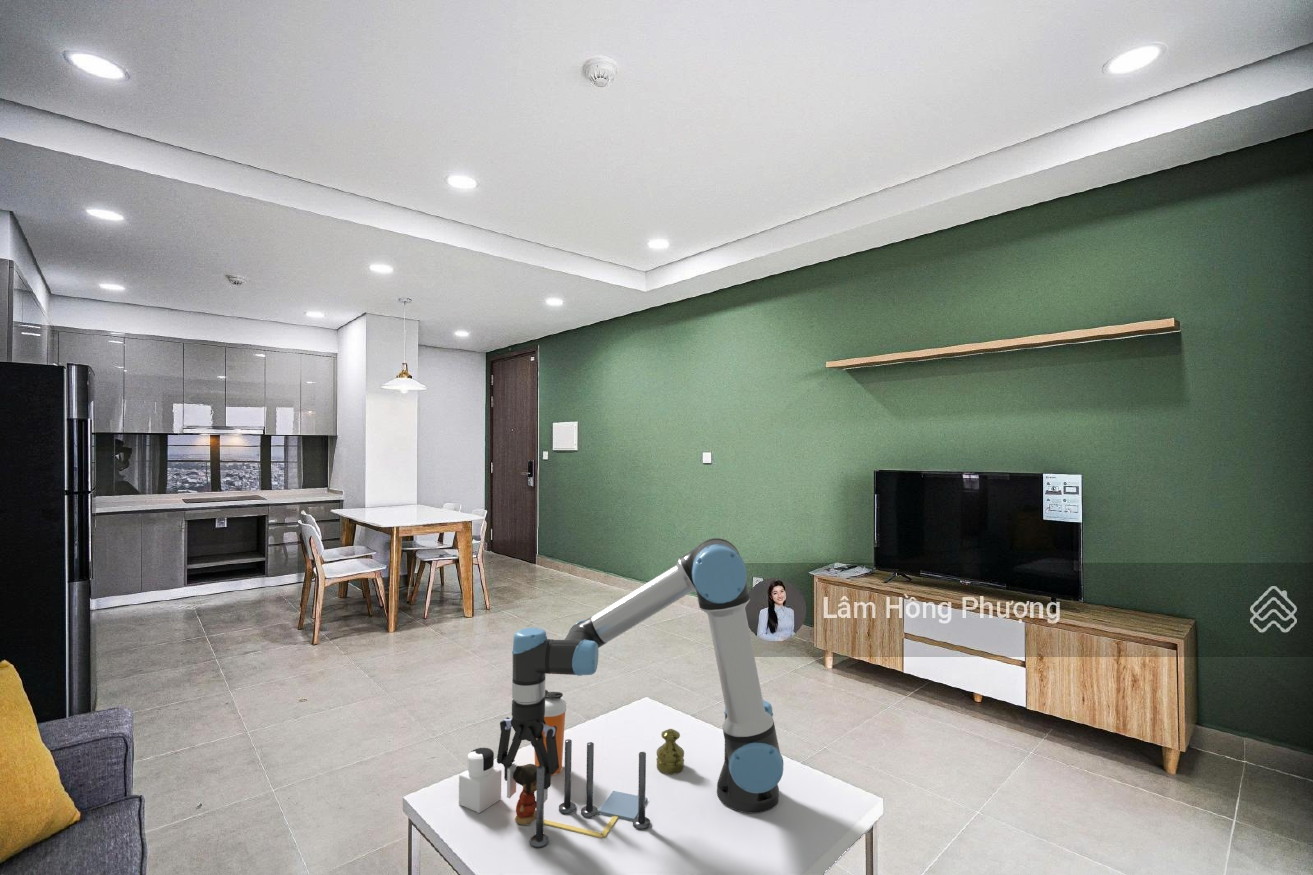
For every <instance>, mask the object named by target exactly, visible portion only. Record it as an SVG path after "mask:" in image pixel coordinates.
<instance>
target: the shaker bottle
mask: <svg viewBox="0 0 1313 875" xmlns="http://www.w3.org/2000/svg"><path fill="white" fill-rule="evenodd" d="M563 696H564V694H563V693H562V692H561V691H548V690H547V689H546V688H545V696H544V698H545V715H544V720H545V722H546V725H548V726H551V727H553V726H556V727H557V732H556V744H557V752H558V761H559V769H558V770H557V771H556V772H555V773H554V774H553V775H552V774H551V776H554V775H557V774H559V773H560V772H561V771H562V769H563V758H564V757H563V756H564V755H563V754H564V743H565V725H566V724H565V723H566V711H567V701H566V700H565V698H564V697H563ZM542 734H543V737H544V740H543V741H544V745H545V748H546V751H547V747H546V737H545V732H544V731H543V732H542ZM536 740H537V739H536ZM533 749H534V748H533ZM533 752H534V765H536V766H537V767H538V766H540V765H539V762H538V759H537V756H536V753H535V749H534V750H533Z"/></svg>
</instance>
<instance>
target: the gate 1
mask: <svg viewBox="0 0 1313 875" xmlns="http://www.w3.org/2000/svg"><path fill="white" fill-rule="evenodd" d="M572 742H573V740H572V739H570V738H568V739H567V738H566V739H564V768H563V769H564V771H563V772H564V774H563V775H564V776H563V777H564V779H563V787H564V788H563V802H562V803H560V804H559V805H558V812H559V813H560V814H563V815H570V814H573V813H574V812H576V810H577V804H575V803H574V802H573V801H572V751H573V750H572V749H573V748H572V746H573V744H572ZM535 792H536V794H535V801H536V809H535V810H536V819H535V834H534V835H533V836H531V837H530V839H529V845H530V846H531V848H534V849H542V848H545V847H547V846H548V845H549V842H550V838H549V835H547V834H545V833H544V820H545V819H544V818H545V816H544V811H545V809H544V808H545V805H544V804H545V802H544V766H538V767H537V790H536V791H535Z"/></svg>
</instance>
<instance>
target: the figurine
mask: <svg viewBox="0 0 1313 875" xmlns="http://www.w3.org/2000/svg"><path fill="white" fill-rule="evenodd" d="M513 779H514V780H515V782H516V784H517V785H519V786H521V787H522V791H521V792H520V794H519V797H518V800H517V802H516V805H515V806H516V807H515V813H516V816H515V818H514V821H515V823H516V824H519V825H523V826H528V825H530V824H532V823H533V822H534V821H536V794H535V792H536V790H537V766H536V765H535V763H526V764H523V765H516V770H515V772H514V774H513Z"/></svg>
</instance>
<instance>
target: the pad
mask: <svg viewBox="0 0 1313 875" xmlns="http://www.w3.org/2000/svg"><path fill="white" fill-rule="evenodd" d="M647 801H648V797H646V796H645V804H646V803H647ZM598 814H599V815H604V816H609V817H611V818H612V817H613V816H618V819H622V820H626V821H631V822H633V820H634V819H635V818H637V817H638V795H636V794H631V793H625V792H621V791H617V790H612V791H611V793H610V794H609V796H608V797H607V798H606V799H605V801H604V802H603V804H601V806H600V808H598Z"/></svg>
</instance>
